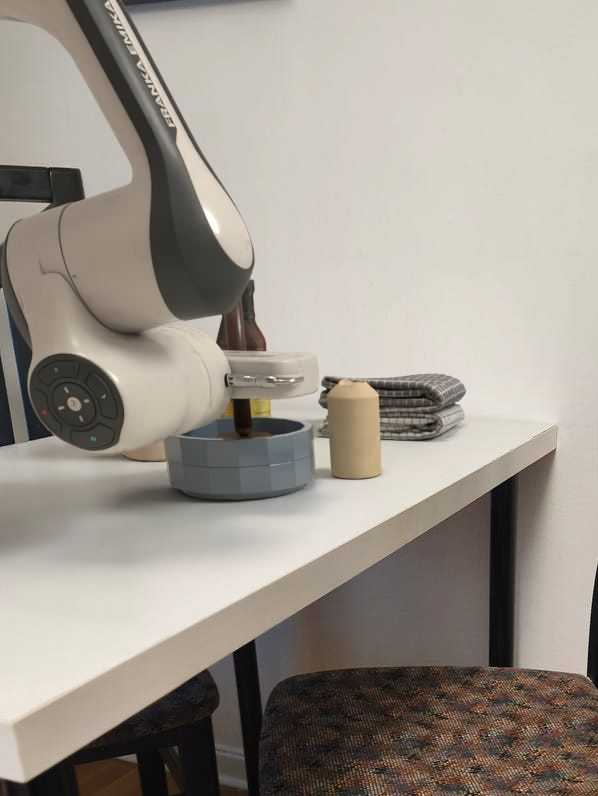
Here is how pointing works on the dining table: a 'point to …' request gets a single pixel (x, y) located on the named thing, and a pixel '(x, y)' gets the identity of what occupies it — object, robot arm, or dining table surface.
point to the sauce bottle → (247, 347)
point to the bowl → (242, 459)
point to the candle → (354, 430)
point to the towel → (409, 404)
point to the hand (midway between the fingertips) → (241, 364)
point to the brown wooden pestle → (240, 406)
